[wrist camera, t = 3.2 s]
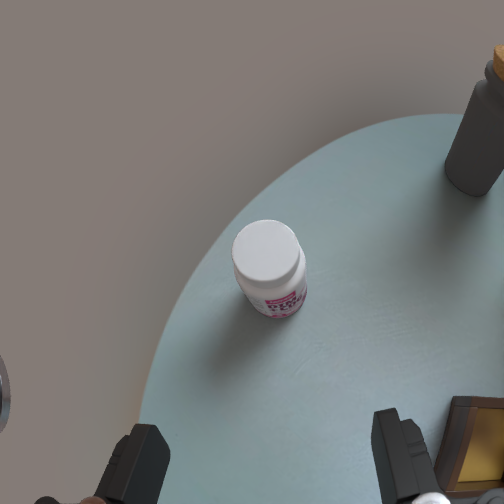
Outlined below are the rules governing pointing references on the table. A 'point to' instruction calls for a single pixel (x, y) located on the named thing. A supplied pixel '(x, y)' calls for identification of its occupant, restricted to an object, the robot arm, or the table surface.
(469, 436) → the divided wooden box
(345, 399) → the table surface
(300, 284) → the pill bottle
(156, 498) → the robot arm
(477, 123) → the bottle
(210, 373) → the table surface
